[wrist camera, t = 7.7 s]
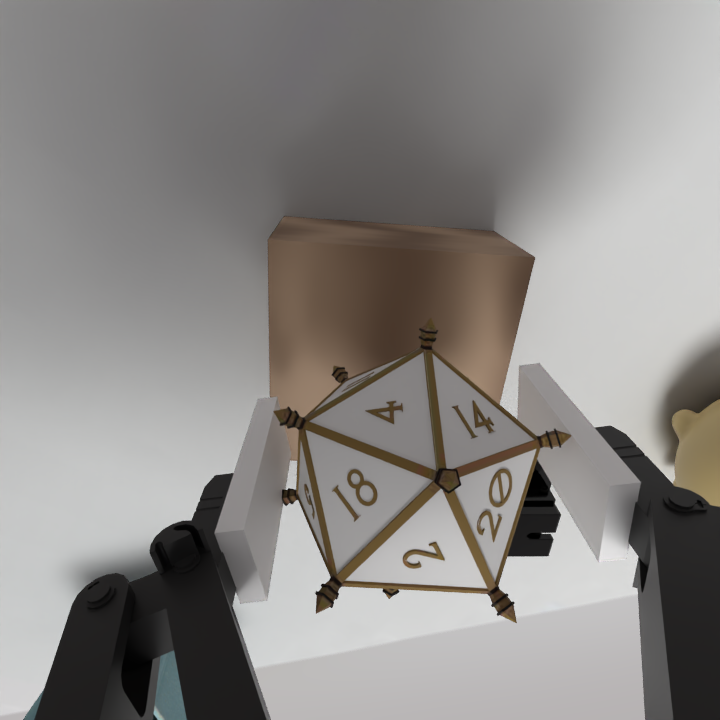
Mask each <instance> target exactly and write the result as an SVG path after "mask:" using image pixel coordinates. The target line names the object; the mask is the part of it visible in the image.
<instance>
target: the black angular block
mask: <svg viewBox="0 0 720 720" xmlns="http://www.w3.org/2000/svg"><path fill="white" fill-rule="evenodd" d="M550 486H551V481H550V480H549V478H548V476H547V475H546V473H545V471H544V470H543V468H542V466H541V465H540V463H539V461H538V460H537V461H536V465H535V468H534V471H533V474H532V478H531V481H530V484H529V487H528V491H527V494H526V497H525V500H524V503H523V507H522V510H521V513H520V516H519V520H518V523H517V526H516V529H515V533H514V536H513V539H512V542H511V546H510V549H509V552H508V555H507V556H549V553H550V549H551V546H552V543H553V540H554V539H553V537H552V536H551V534H542V533H555V532H556V530H557V526H558V523H559V520H560V517H561V514H560V512H559V510H558V509H557V507H556V505H555V498H554V496H553V494H552V493H551V491H550Z"/></svg>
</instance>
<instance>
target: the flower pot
mask: <svg viewBox="0 0 720 720" xmlns="http://www.w3.org/2000/svg"><path fill="white" fill-rule="evenodd" d="M43 691H44V690H43ZM42 694H43V692H42V693H41V694H40V696H39V697H38V699H37V700H36V702H35V703H34V704H33V706H32V707H31V709H30V710H29V712H28V713H27V715H26V716H25V718H24V719H23V720H34V719H35V716H36V713H37V709H38V706H39V703H40V700H41V697H42ZM153 720H187V719H186V713H185V708H184V702H183V697H182V691H181V686H180V680H179V675H178V670H177V664H176V659H175V653H174V650H173V651H171V652H169V653H167V654H164V655H162V656H161V657H160V665H159V674H158V682H157V690H156V698H155V706H154V714H153Z"/></svg>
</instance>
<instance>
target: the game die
mask: <svg viewBox="0 0 720 720" xmlns="http://www.w3.org/2000/svg"><path fill="white" fill-rule="evenodd" d="M419 330H420V331H421V335H420V336H419V339H420V340H421V346H420V348H417V349H415V350H413V351H410V352H408V353H406V354H403V355H401V356H399V357H396V358H394V359H392V360H390V361H387V362H385V363H383V364H380V365H378V366H376V367H373V368H371V369H369V370H366V371H364V372H362V373H359V374H357V375H355V376H352V377H350V378H348V372H346V371H345V367H338V366H333V373H332V376H333V377H335V380H336V381H338V382H339V383H340V382H341V384H340V385H339V386H338V387H337V388H335V389H334V390H333V391H332V392H331V393H330V394H329V395H328V396H327V397H326V398H324V399H323V400H322V401H321V402H320V403H319V404H318V405H317V406H316V407H315V408H314V409H312V410H311V411H310V412H309V413H308V414H307V415H306V416H305V417H301V416H299V414H298V412H297V411H296V410H295V411H292V410H291V409H290V407H287V408H286V409H281V410H276V411H273V412H274V413H275V415H276V417H277V419H278V420H279V422H280V426H283V425H285V426H287V428H288V429H290V428H297V429H298V430H299V435H298V460H297V485H296V490H294V489H290V488H289V489H288V490H284V489H282V501H283V503H284V504H285V506H287V505H288V504H289V503H291V504H293V503H294V502H295V501H296V500H298V501H299V503H300V505H301V508H302V510H303V512H304V515H305V517H306V520H307V522H308V524H309V527H310V529H311V531H312V534H313V536H314V538H315V541H316V543H317V546H318V548H319V550H320V553H321V555H322V557H323V560H324V562H325V565H326V567H327V569H328V572H329V574H330V576H331V578H330V580H329V581H328V582H327V583H326V584H322V585H321V586H322V588H321V589H320V591H319V592H317V591H316V593H315V594H316V595H317V602H316V613H318V612H320V611H322V610H325V609H327V608H329V607H331V608H332V607H333V604H334V600H335V599H336V600H337V598H338V595H339V593H338V590H339V588H340V587H341V586H345V587H364V588H383V592H384V593H385V594H386V595H387V597H388V598H389V599H390V598H391V597H392V596H393V595H395V594H397V593H399V590H398V589H403V590H423V591H442V592H462V593H481V594H488V595H489V596H490V598H491V601H492V605H491V606H492V607H495V609H496V610H497V612H498V613H497V615H498V616H499V615H501V616H503V617H505V618H507V619H509V620H511V621H513V622H515V623H517V622H516V617H515V611H514V605H513V604H514V602H511V601H510V599H509V598H508V597H507V596H508V594H505V593H503V592H502V591H501V590H500V589H499V587H498V584H499V581H500V578H501V575H502V571H503V568H504V565H505V562H506V559H507V555H508V552H509V549H510V546H511V542H512V539H513V536H514V533H515V529H516V526H517V523H518V520H519V516H520V513H521V510H522V507H523V503H524V500H525V497H526V494H527V491H528V487H529V484H530V481H531V478H532V474H533V471H534V468H535V465H536V461H537V458H538V455H539V452H540V448H543V447H548V448H551V449H553V447H558V446H559V448H561V445H563V444H564V443H565V442H566V441H567V440H568V439H569V438H570V437H571V435H570V434H567V433H564V432H561V431H557V430H556V428H555V429H554V431H550V432H548V431H545V432H546V433H545V434H543V435H541V436H536V435H535V434H534V433H533V432H531V431H530V430H529V429H528V428H527V427H525V426H524V425H523V424H522V423H521V422H519V421H518V420H517V419H516V418H515V417H514V416H512V415H511V414H510V413H509V412H508V411H506V410H505V409H504V408H503V407H502V406H500V405H499V404H498V403H497V402H496V401H494V400H493V399H492V398H491V397H490V396H488V395H487V394H486V393H485V392H484V391H483V390H481V389H480V388H479V387H478V386H477V385H475V384H474V383H473V382H472V381H471V380H469V377H468V378H467V377H466V376H465V375H463V374H462V373H461V372H460V371H459V370H457V369H456V368H455V367H454V366H453V365H452V364H450V363H449V362H448V361H447V360H446V359H444V358H443V357H442V356H441V355H440V354H438V353H437V352H436V351H435V350H434V349H432V345H433V343H434V342H435V341H436V338H435V336H436V334H437V333H438V330H436V327H435V325H434V323H433V320H432V318H430V319H429V320H428V322H427V323H426V324H425V325H424V326H423V327H422V328H419Z"/></svg>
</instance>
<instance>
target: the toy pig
mask: <svg viewBox="0 0 720 720" xmlns="http://www.w3.org/2000/svg"><path fill="white" fill-rule="evenodd" d="M672 425H673V428H674V430H675V432H676V434H677V436H678V438H679V446H678V449H677V452H676V457H675V480H674V482H673V485H674V486H676V487H681V488H685V489H688V490H691V491H693V492H695V493H697V494H699V495H700V496H702V497H703V498H704V499H705V500H706V501H707V502H709V504H710V505H713V506H718V507H720V399H719V400H717V401H715V402H713V403H712V404H710V405H709V406H708V407H706V408H705V409H704V410H703V411H702V412H700V413H695V412H693V411H691V410H686V409H685V410H680V411H678V412H676V413H675V414H674V415H673V417H672Z"/></svg>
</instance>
